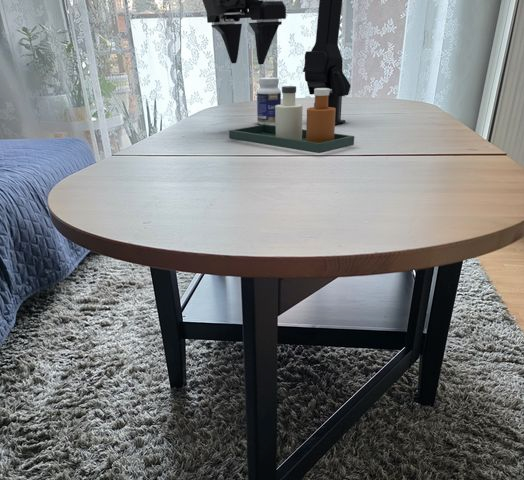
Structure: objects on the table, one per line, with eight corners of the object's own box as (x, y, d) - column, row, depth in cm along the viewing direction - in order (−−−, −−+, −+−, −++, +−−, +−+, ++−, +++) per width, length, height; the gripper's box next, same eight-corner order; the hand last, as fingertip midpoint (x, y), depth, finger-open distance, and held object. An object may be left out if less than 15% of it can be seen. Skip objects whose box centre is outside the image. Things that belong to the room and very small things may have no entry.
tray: (264, 134, 111) (264, 124, 110) (353, 147, 96) (354, 136, 95) (229, 141, 105) (228, 130, 104) (318, 156, 90) (319, 143, 89)
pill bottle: (271, 126, 121) (271, 79, 116) (252, 124, 124) (251, 78, 119) (285, 123, 125) (285, 77, 119) (266, 121, 128) (266, 76, 122)
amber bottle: (318, 142, 98) (320, 86, 93) (339, 145, 95) (342, 88, 90) (300, 146, 95) (301, 89, 90) (321, 149, 92) (323, 90, 87)
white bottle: (288, 137, 103) (288, 85, 98) (307, 140, 100) (308, 86, 95) (270, 141, 100) (269, 87, 95) (289, 144, 97) (289, 88, 92)
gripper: (179, -28, 97) (189, 65, 105) (236, -39, 84) (242, 68, 93) (227, -27, 102) (232, 61, 111) (287, -37, 90) (288, 63, 98)
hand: (247, 63), depth 103 cm, fingers open, 9 cm apart
